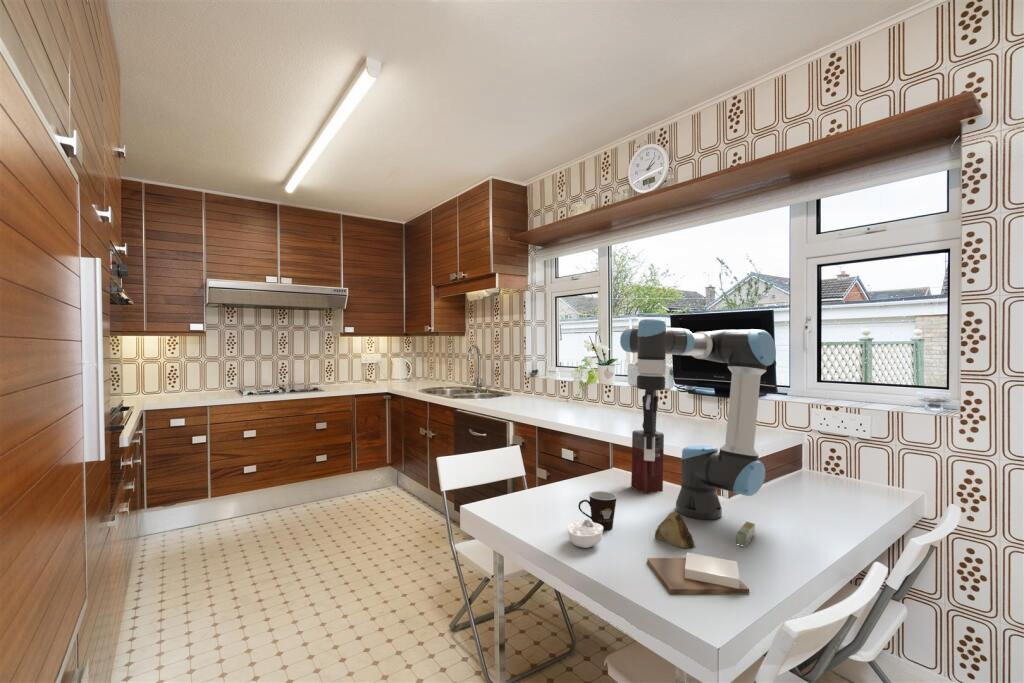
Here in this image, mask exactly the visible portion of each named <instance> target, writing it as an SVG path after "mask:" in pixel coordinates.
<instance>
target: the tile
mask: <svg viewBox="0 0 1024 683" xmlns="http://www.w3.org/2000/svg"><path fill="white" fill-rule="evenodd" d="M685 558H686V564H685V578H686V579H691V580H696V581H701V582H706V583H711V584H716V585H721V586H726V587H731V588H736V589H739V580H740V574H739V567H738V561H737V560H730V559H725V558H718V557H714V556H709V555H704V554H703V555H702V554H697V553H694V552H693V553H691V552H686V557H685Z"/></svg>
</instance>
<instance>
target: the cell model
mask: <svg viewBox="0 0 1024 683" xmlns="http://www.w3.org/2000/svg"><path fill="white" fill-rule="evenodd" d="M603 533H604V531H603V526H602V525H600V524H598V523H594V522H592V520H591V519H590V518H589V519H585V520H578V521H575V522H571V523H569V524H568V525H567V534H568V536H567V537H568V540H569V541H570V542H571V543H572V544H573V545H575V546H576V547H578V548H579V547H580V548H584V549H589V548H590V547H591V548H592V547H594V546H597V545H599V544H600V542H601V541H602V538H603Z"/></svg>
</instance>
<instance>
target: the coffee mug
mask: <svg viewBox="0 0 1024 683" xmlns="http://www.w3.org/2000/svg"><path fill="white" fill-rule="evenodd" d="M588 495H589V500H587V499H582V500H581V501H579V503H578V505H577V506H578V510H579V511H580V512H581V513H582V514H583V515H584V516H586V517H587V518H589V519H590V520H591V521H592V522H594V523H598V524H600V525H602V526H603V530H605V531H604V532H607V530H608V531H611V530H613V526H614V519H615V512H616V503H617V497H618V496H617V495H616V494H614V493H613V492H609V491H599V490H598V491H597V490H596V491H591V492H590V493H589V494H588ZM583 503H587V504H588V505H589V507H590V515H589V514H588V513H587V512H584V511H583V510H582V509H581V505H582V504H583Z"/></svg>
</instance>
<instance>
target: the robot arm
mask: <svg viewBox="0 0 1024 683" xmlns="http://www.w3.org/2000/svg"><path fill="white" fill-rule="evenodd" d="M637 326H638V327H637V328H628V329H625V330H623V331H622V333H621V335H620V340H619V343H620V347H621V349H622V350H623V351H625V352H626V353H633V354H635V353H637V362H635V363H634V365H635V366H636V367H637V374H639V375H637V376H636V388H637V389H638V390H643V391H645V392H644V395H642V411H643V422H644V429H643V430H644V432H643V434H642V437H644V460H646V461H655V437H654V436H658V434H655V433H656V431H657V413H658V412H657V411H658V402H659V400H660V398H659V395H657V391H663V390H665V389H666V377H665V376H664V375H665V374H666V367H667V366H666V364H667V362H666V361H667V360H666V356H667V355H676V356H678V355H679V356H691V357H693V358H694V359H698V360H706V361H711V362H716V363H723V364H727V369H729V371H730V373H731V378H730V379H731V380H730V390H729V402H728V413H727V423H726V434H725V443H724V444H723V445H722V446H721V447H720V448H719V449H718V447H717V446H715V445H688V446H685V447H684V448H682V452H681V459H680V461H681V477H680V478H681V484H680V485H681V486H680V490H679V493H678V496H677V498H676V501H675V510H676V511H675V512H677V513H678V514H680V515H683V516H685V517H688V518H689V517H690V518H693V519H699V520H708V519H709V520H717V519H716V518H718V519H720V518H722V514H723V513H722V512H723V509H722V506H721V505H722V504H721V502H720V499H719V495H718V493H717V491H718V489H720V490H723V491H727V492H731V493H734V494H736V495H740V496H745V497H752V496H755V494H757V493H758V492H759V491H760V490H761V488H762V487H763V484H764V482H765V478H766V469H765V465H764V463H763V462H762V461H760V460H759V455H760V454H759V452H757V451H756V449H755V442H756V431H757V430H756V429H757V418H758V408H759V397H760V386H761V376H762V375H764V374H765V373H767V367H768V366H771V365H773V364H774V362H775V360H776V355H777V350H776V344H775V340H774V339H773V337H772V335H771V334H770V333H769V332H768V331H766V330H765V329H755V328H754V329H753V328H751V329H719V330H712V331H711V330H710V331H696V332H694V333H693V332H692V331H690V329H687V328H682V327H668V326H667V321H666V320H665V319H659V318H658V319H656V318H655V319H654V318H652V319H651V318H650V319H649V318H648V319H647V318H646V319H645V318H643V319H641V320H639V322H638V325H637ZM719 517H720V518H719Z"/></svg>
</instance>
